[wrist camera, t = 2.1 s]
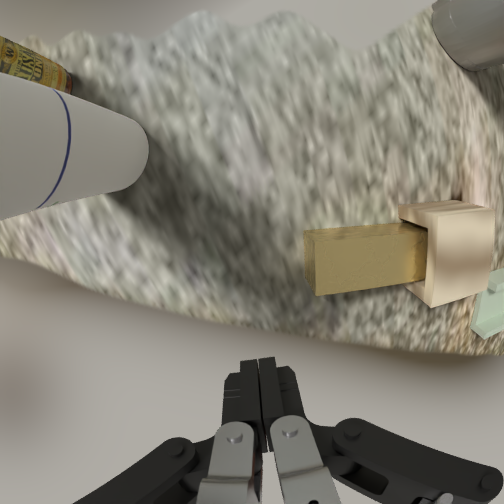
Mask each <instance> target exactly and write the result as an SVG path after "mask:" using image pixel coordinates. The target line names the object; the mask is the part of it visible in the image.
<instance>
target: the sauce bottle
mask: <svg viewBox="0 0 504 504" xmlns="http://www.w3.org/2000/svg"><path fill="white" fill-rule="evenodd" d="M0 72H1V73H5V74H8V75H12V76H15V77H19V78H22V79H25V80H28V81H32V82H35V83H38V84H41V85H44V86H47V87H50V88H53V89H56V90H59V91H61V92H64V93H67V94H71V90H72V80H71V77H70V75H69V73H68V72H67V71H66V69H64V68H63V67H62V66H61V65H59V64H57V63H55V62H53V61H51V60H49V59H47V58H45V57H44V56H41V55H39V54H37V53H36V52H34V51H31V50H30V49H28V48H25V47H24V46H21V45H19V44H17V43H15V42H12V41H10V40H8V39H6V38H4V37H1V36H0Z"/></svg>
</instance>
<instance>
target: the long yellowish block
mask: <svg viewBox="0 0 504 504" xmlns="http://www.w3.org/2000/svg"><path fill="white" fill-rule="evenodd" d="M303 232H304V253H305V278H306V279H307V281H308V283H309V285H310V287H311V288H312V290H313V292H314V294H315V296H321V295H329V294H336V293H343V292H350V291H357V290H364V289H371V288H377V287H383V286H389V285H395V284H401V283H407V282H413V281H418V280H424V279H426V268H427V251H428V228H426V227H423V226H421V225H418V224H415V223H413V222H404V223H390V224H377V225H364V226H352V227H340V228H328V229H316V230H305V231H303Z"/></svg>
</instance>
